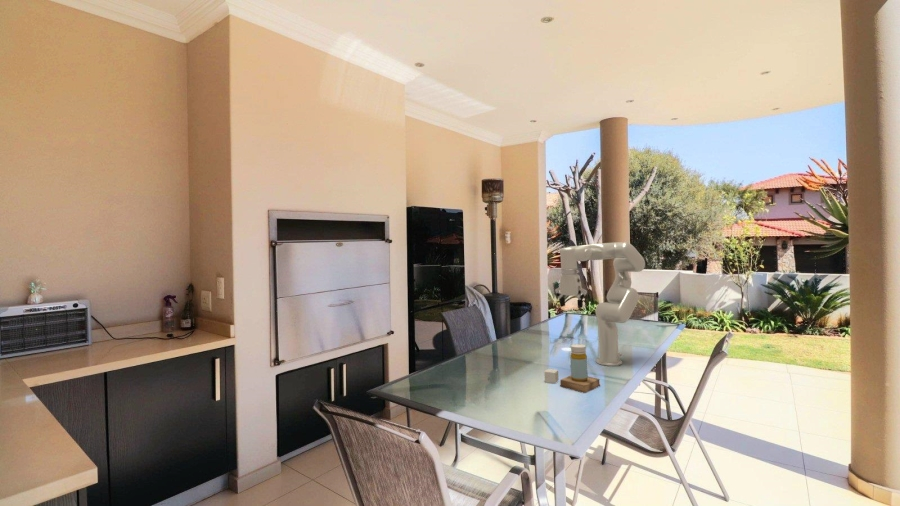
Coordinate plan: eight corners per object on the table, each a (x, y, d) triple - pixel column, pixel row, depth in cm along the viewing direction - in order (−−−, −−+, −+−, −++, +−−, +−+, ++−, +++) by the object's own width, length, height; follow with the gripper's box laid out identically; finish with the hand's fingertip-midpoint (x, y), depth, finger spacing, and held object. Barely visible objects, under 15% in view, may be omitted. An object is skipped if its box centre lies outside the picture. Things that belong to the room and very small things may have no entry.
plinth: (575, 379, 191) (575, 373, 191) (600, 385, 182) (600, 379, 182) (559, 386, 183) (559, 379, 183) (584, 393, 174) (584, 386, 174)
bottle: (588, 382, 179) (587, 347, 178) (572, 381, 180) (570, 347, 180) (586, 376, 186) (585, 343, 185) (570, 376, 187) (569, 343, 187)
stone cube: (548, 379, 194) (547, 368, 194) (558, 380, 192) (558, 369, 192) (544, 382, 190) (544, 371, 190) (555, 383, 187) (555, 372, 187)
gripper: (589, 271, 198) (591, 307, 199) (558, 271, 211) (560, 304, 212) (581, 273, 193) (583, 309, 194) (550, 273, 206) (552, 306, 207)
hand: (571, 306), depth 203 cm, fingers open, 9 cm apart
